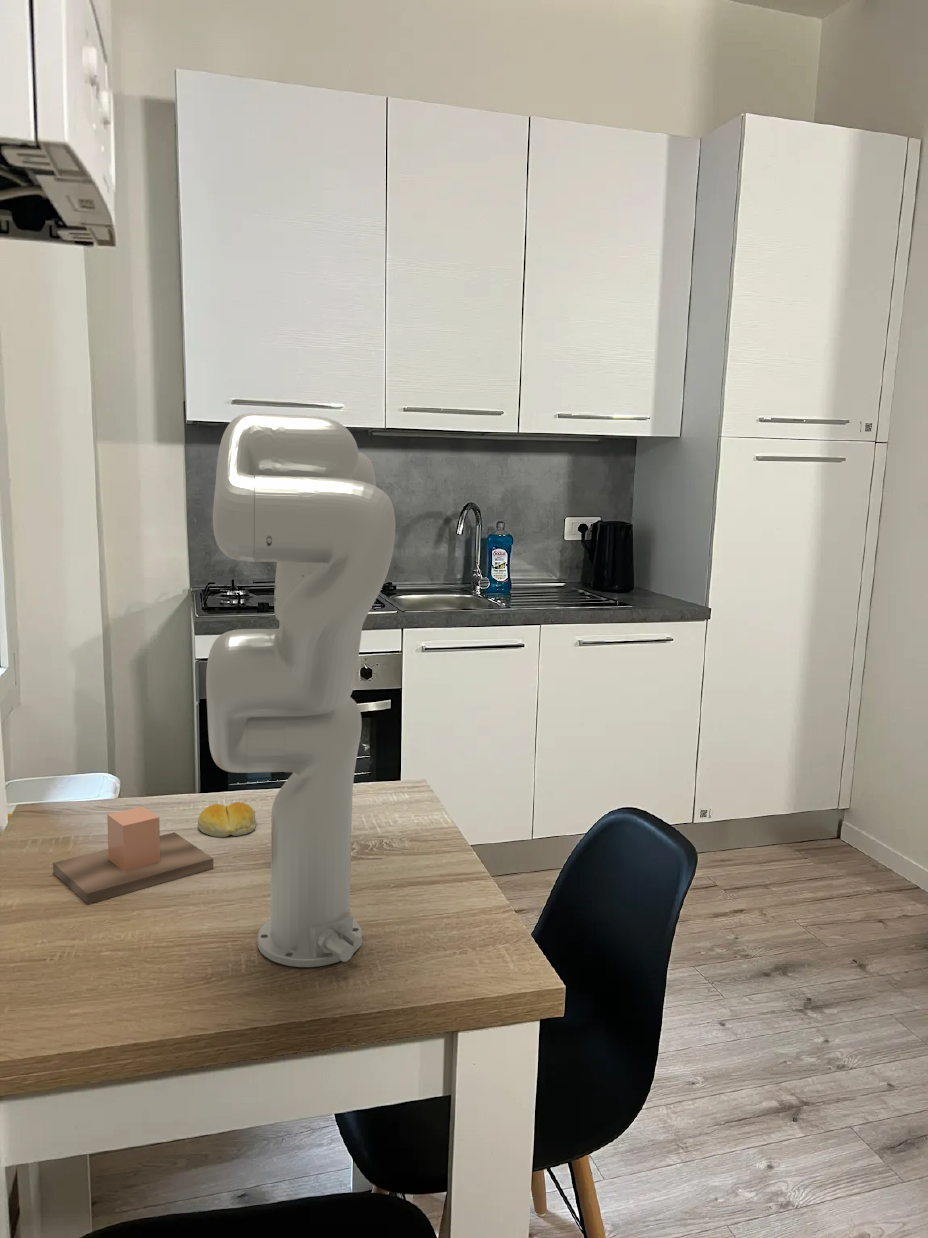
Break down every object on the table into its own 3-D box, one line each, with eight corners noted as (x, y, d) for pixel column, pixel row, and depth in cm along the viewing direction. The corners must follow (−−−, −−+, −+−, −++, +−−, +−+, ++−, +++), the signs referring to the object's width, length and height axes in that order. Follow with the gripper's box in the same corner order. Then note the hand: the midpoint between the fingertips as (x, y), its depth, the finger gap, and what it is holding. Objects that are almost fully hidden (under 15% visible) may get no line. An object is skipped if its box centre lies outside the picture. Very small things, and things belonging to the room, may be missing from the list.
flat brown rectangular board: (213, 868, 136) (213, 821, 135) (87, 904, 124) (85, 853, 123) (174, 841, 144) (174, 797, 143) (53, 873, 132) (51, 825, 131)
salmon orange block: (160, 862, 134) (159, 817, 133) (123, 871, 130) (123, 825, 129) (143, 850, 137) (143, 806, 136) (108, 859, 134) (107, 814, 133)
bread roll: (198, 820, 154) (198, 797, 153) (255, 818, 156) (255, 794, 155) (196, 840, 146) (196, 816, 145) (256, 838, 148) (256, 813, 147)
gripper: (356, 552, 134) (353, 679, 137) (297, 542, 145) (296, 660, 148) (311, 554, 129) (309, 686, 132) (254, 544, 140) (253, 666, 143)
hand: (302, 672), depth 140 cm, fingers closed
